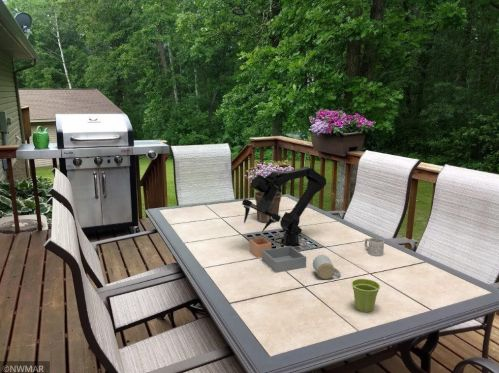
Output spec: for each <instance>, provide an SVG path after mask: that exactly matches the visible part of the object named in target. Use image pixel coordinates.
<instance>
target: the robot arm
mask: <svg viewBox="0 0 499 373" xmlns="http://www.w3.org/2000/svg"><path fill="white" fill-rule="evenodd" d="M301 178H306V180H308V181H307V183H306V189H305V190H304V192H303V193H302V195H301V196H300V197H299V199H298V201H297V202H296V204H295V205H294V207H293V209H292V210H291V211H290V212H287V211H285V212H284V214H283V215H282V217H281V215H279V214H278V215H277V214H275V213H273V214H272V213H270V212H271V211H272V209H273V207H274V205H273V204H272V202H273V200H274V198H275V196H276V194H277V192H279V193H283V190H282V187H281V186H283V185H284V184H287V183H288V182H289V181H292V180H296V179H301ZM326 185H327V178H326V177H325V176H323V175H322V174H320V173H319V172H318V171H316V170H315V169H314V168H312V167H309V166H303V167H300V168H296V169H293V170H292V169H291V170H287V171H282V170H281V171H279V170H273V171H271V172H270V174H269V175H266V176H265V177H264V176H262V175H261V174H257V175H256V176H255V177H254V178H253V179H252V180H251V182H250V187H251V188H252V189H253V190H255V191H256V192H260V193H263V194H262V196H261V198H260V200H259V202H258V204H257V206H256V204H253V201H251V200H249V199H246V198H244V199H243V200H242V203H241V205H242V206H243V208H244V209H245V212H244V213H245V214H244V218H243V219H244V221H243V223H244V224H246V221H247V219H248V216H249V214H250V210H251V209H250V208H252V209H253V210H255V211H256V212H257V211H259V212H261V213H263V214H265V215H268V216H270V217H271V219H269V221H268V222H267V223H265V226H264V227H263V229H262V230H261V232H262V233H264V231H266V229H267V228H268V227H269V226H270V225H271V224H272V222H274V223H276V222H277V223H280V227H281V229H282V231H283V232H284V235H283V242H282V243H283V244H284V245H285V246H286V247H287V246H291V247H296V246H301V243H300V242H299V239H300V236H299V235H301V233H302V232H303V229H302V228H301V227H300V226H299V224H300V218H301V216H302V214H303V213H304V212H305V210H306V208H307V207H308V206H309V204H310V203H311V201H312V199H313V198H314V197H315V195H316V194H317V193H318V192H320V191H322V190H323V189H324V188H325V186H326ZM268 211H270V212H268Z"/></svg>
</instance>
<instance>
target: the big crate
mask: <svg viewBox="0 0 499 373" xmlns="http://www.w3.org/2000/svg"><path fill="white" fill-rule="evenodd" d="M261 260H262V262H263V263H264V264H265V265H266V266H268V267H269V268H270V269H271V270H272V271H273V272H274V273H283V272H289V271H294V270H299V269H300V270H301V269H306V268H307V256H306V255H304V254H302V252H300V251H298V250H297V249H296V248H294V246H287V245H286V246H281V247H276V248H271V249H268V250H262V257H261Z"/></svg>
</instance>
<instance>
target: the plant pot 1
mask: <svg viewBox="0 0 499 373" xmlns="http://www.w3.org/2000/svg"><path fill="white" fill-rule="evenodd" d="M262 194H263V193H260V192H259V191H256V192H254V199H255V203H256V204H255V205H256V206H257V204H258V202H259V200H260V198H261V196H262ZM282 196H283V193H282V192H277V194H276V196H275V198H274V200H273V202H272V204H273V205H274V207H273V209H272V211H271V212H270V211H268V212H270V213H272V214H273V213H275V214H277V215H279V213H280V212H279V211H280V204H281V200H282ZM269 219H271V217H270V216H268V215H265V214H263V213H261V212H259V211H257V210H256V220H257V221H258V222H260V223H262V224H263V223H265V224H267V222H268V221H269ZM272 223H275V222H272ZM272 223H271V224H272Z"/></svg>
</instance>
